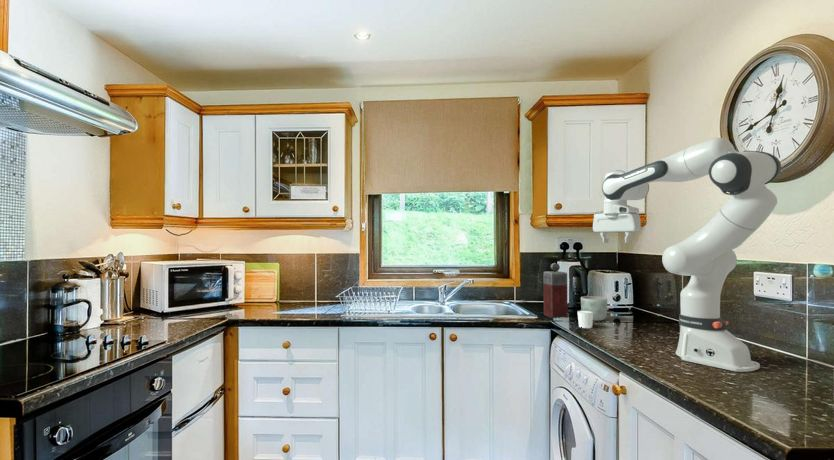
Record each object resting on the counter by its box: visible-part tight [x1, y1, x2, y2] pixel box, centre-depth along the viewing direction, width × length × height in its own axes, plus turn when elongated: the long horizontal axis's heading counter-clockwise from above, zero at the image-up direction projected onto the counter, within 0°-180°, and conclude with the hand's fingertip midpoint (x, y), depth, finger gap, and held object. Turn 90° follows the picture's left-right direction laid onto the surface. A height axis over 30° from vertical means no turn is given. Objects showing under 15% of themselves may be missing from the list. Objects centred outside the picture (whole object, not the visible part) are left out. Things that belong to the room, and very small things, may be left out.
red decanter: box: [543, 262, 568, 319], centre depth 208 cm, size 9×11×28 cm
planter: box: [580, 295, 608, 322], centre depth 198 cm, size 12×12×11 cm
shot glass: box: [577, 310, 594, 329], centre depth 181 cm, size 7×7×7 cm
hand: (615, 242), depth 164 cm, fingers open, 8 cm apart
